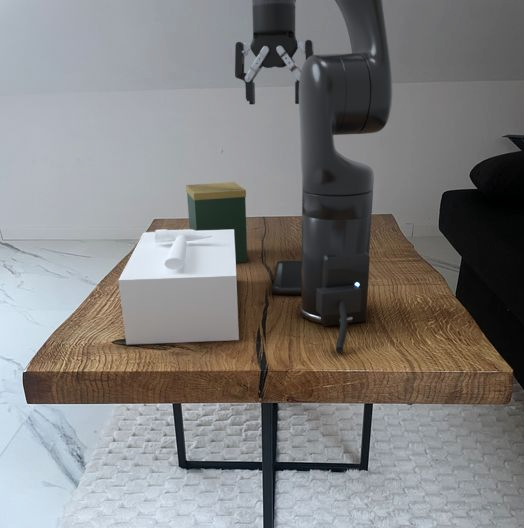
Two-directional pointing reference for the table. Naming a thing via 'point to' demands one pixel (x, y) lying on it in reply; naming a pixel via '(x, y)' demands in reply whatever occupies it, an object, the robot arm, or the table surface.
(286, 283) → the phone
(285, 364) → the table surface
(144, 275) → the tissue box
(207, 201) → the tea tin
